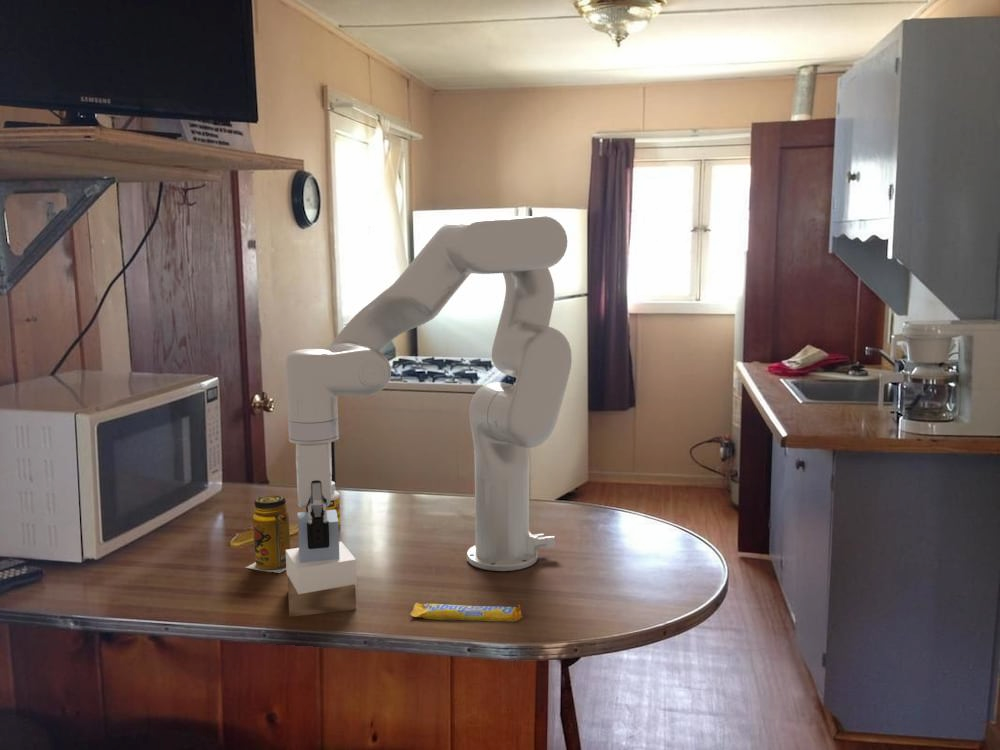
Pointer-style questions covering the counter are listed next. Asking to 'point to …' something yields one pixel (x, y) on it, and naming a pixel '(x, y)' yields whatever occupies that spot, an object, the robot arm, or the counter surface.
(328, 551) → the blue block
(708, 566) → the counter surface
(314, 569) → the tower top block
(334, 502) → the supplement bottle
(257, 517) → the condiment
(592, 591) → the counter surface
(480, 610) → the candy bar
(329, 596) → the tower base block
